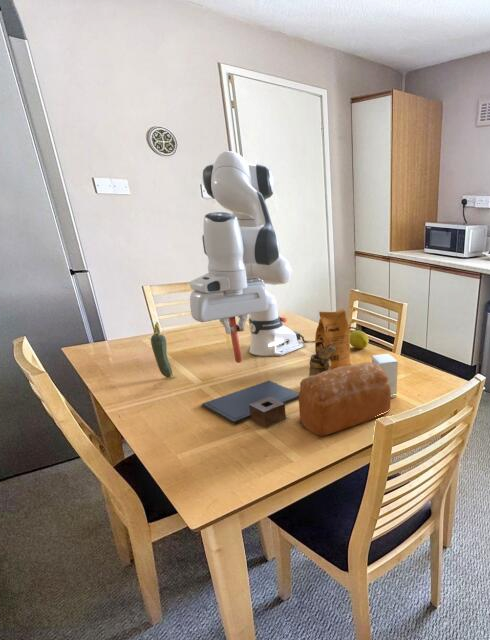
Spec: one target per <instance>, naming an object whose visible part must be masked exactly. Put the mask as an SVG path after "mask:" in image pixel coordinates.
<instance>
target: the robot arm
mask: <svg viewBox="0 0 490 640" xmlns="http://www.w3.org/2000/svg"><path fill="white" fill-rule="evenodd" d="M202 185H203V187H204V189H205V192H206V193H207V195H208V196H209V197H211V198H212V199H214V200H215V201H216V202H217V203H218V204H219V205H220V206H221V207H222V208H224V209H225V210H227V211H229V212H232V213H229V212H222V211H216V212H209V213H206V214H205V215H204V216H203V225H202V226H203V234H202V236H201V237H202V238H201V239H202V245H203V252H204V254H205V255H206V256H207V261H208V265H207V273H205V274H203V275H201V276H199V277H197V278H194V279H192V280H191V281H190V282H189V287H190V289H191V290H192V291H191V294H190V296H189V308H190V315H191V317H192V318H193V319H194V320H195V321H197V322H199V323H207V322H213V321H218V320H219V322H220V324H221V325H222V326H223V327H224V331H225V334H227V335H231V333H234V331H233V330H234V328H233V327H231V326H229V318H230V317H235V318H236V317H237V318H239V319H238V323H236V326H237V332H238V333H241V332H245V325H246V322H247V320H248V325H249V330H250V346H249V350H248V351H249V353H250V354H252V355H255V356H261V357H262V356H263V357H268V356H275V357H276V356H277V357H280V356H284V355H287V354H289V353H291V352H294V351H296V350H298V349H300V348H303V347H304V344H303V342H304V343H309V340H308V341H307V340H305V338H304V336H303V335H302V334H301V333H300V332H297V331H295V330H292V329H291V328H289V327H288V326H285V325H284V324H283V323H287V322H288V319H287V317H284V316H282V317H281V316H279V309H278V300H277V298H276V296H275V295H274V294H272V293H271V292H270V291H268V290H267V288H266V285H271V286H280V285H286V284H288V283H289V282H290V280H291V279H292V276H293V268H292V265H291V263H290V261H289V260H288V259H286V258H285V257H284V256H283V255H282V254H281V253H280V252H281V247H280V242H279V238H278V236H277V234H276V231H275V229H274V226H273V222H272V219H271V216H270V212H269V208H268V205H267V203H266V200H267V199H270V198H271V197H272V196H273V194H274V191H275V185H276V183H275V179H274V175H273V173H272V172H271V169H270V168H269V167H268V166H267V165H264V164H260V163H256V164H255V163H254V164H253V163H248V162H247V161H246V159H245V158H244V156H242V155H241V154H240V153H238V152H235V151H230V150H227V151H223V152H221V153H220V154H218V156H217V158H215V161H214V163H212V164H209V165H207V166H205V167H204V168H203V170H202ZM248 315H249V317H248ZM350 329H351V330H352V329H354V330H355V331H359V329H358V328H357V327H354V326H349V330H350ZM301 341H302V342H301ZM312 343H315V340H314V341H312Z"/></svg>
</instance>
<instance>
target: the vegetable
mask: <svg viewBox="0 0 490 640" xmlns="http://www.w3.org/2000/svg"><path fill="white" fill-rule="evenodd" d="M150 345H151V349H152V352H153V355H154V358H155V361H156V364H157V367H158V370H159V372H160V373H161V375H162V376H163V377H165V378H166V379H169V378H172V377H173V375H174V374H173V369H172V366H171V362H170V360H169V358H168V351H167V339H166V337H165V336H164V335H163V334H162V333H161V327H160V324H159V321H155V324H154V328H153V334H152V335H151V337H150Z"/></svg>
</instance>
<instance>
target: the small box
mask: <svg viewBox="0 0 490 640" xmlns="http://www.w3.org/2000/svg"><path fill="white" fill-rule="evenodd" d="M371 363H373V364H376V365H377V366H378V367H380V368H381V369H382V370H383V371H384V372H385V373H386V374H387V376H388V382H389V385H390V392H391V395H392V396H390V399H393V398H397V395H398V394H397V393H398V391H397V390H398V366H399V361H398V360H397V359H395V358H394V357H393V356H392V355H391V354H389V353H384V354H374V355H371ZM393 394H397V395H393Z"/></svg>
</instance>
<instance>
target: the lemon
mask: <svg viewBox="0 0 490 640" xmlns="http://www.w3.org/2000/svg"><path fill="white" fill-rule="evenodd" d="M349 334H350V346H351V347H353V348H354V349H357V350H364V349H365V348H367V346H369V341H370V339H369V336H368V334H367V333H366V332H364V331H362V330H358V331H357V330H353V331H351V332H349ZM364 347H365V348H364Z"/></svg>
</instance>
